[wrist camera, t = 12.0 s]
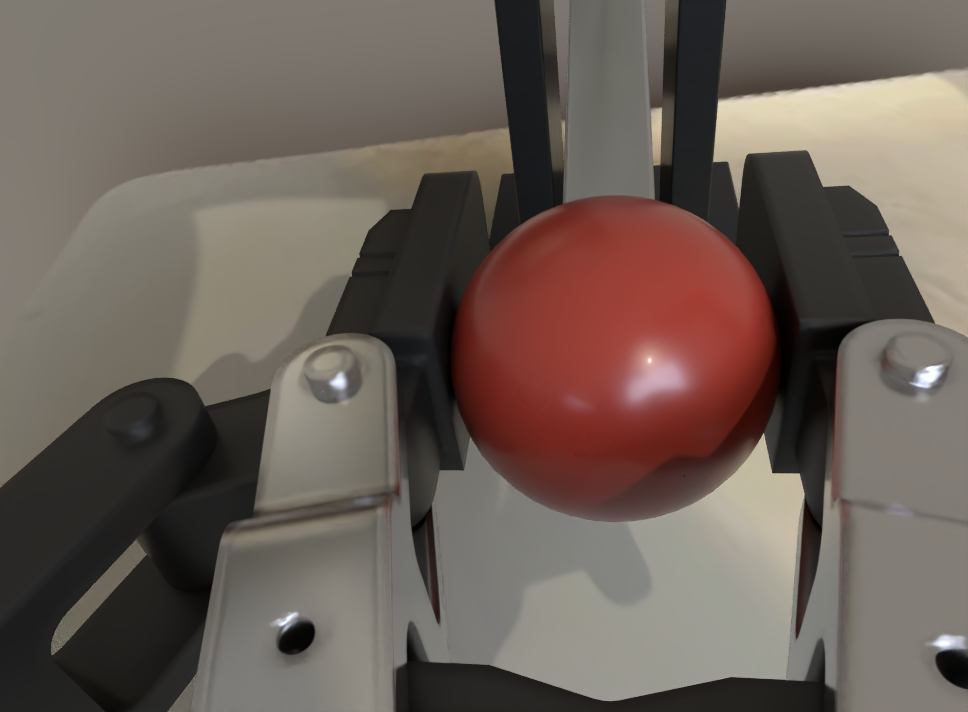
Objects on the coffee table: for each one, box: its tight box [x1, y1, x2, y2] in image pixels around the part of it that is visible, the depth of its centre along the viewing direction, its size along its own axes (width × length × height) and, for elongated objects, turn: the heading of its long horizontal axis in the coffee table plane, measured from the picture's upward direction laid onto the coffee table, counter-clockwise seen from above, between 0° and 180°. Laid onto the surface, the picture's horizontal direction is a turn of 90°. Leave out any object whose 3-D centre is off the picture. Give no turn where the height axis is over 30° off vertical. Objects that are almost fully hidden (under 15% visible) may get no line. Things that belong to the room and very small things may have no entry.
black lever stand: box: [489, 0, 739, 252], centre depth 20 cm, size 10×8×15 cm
